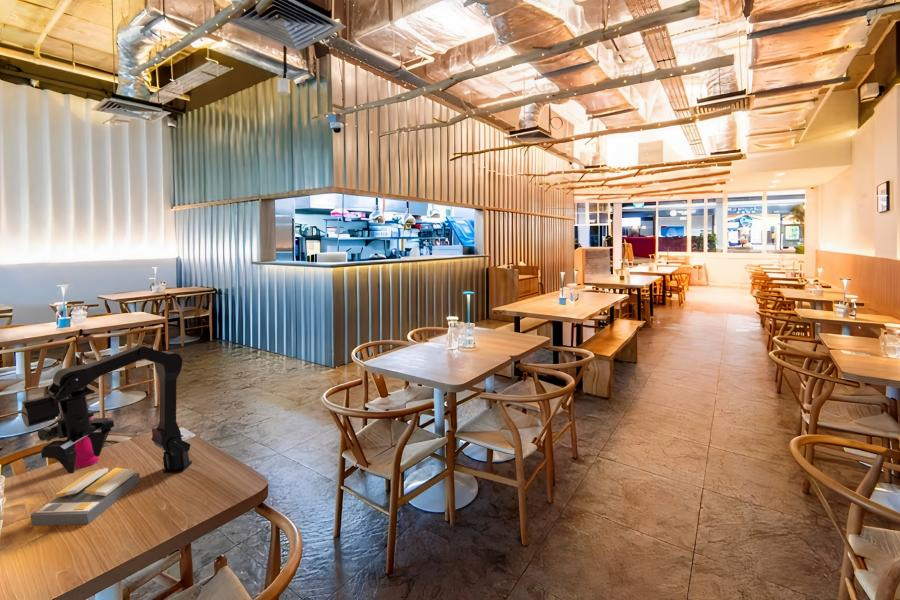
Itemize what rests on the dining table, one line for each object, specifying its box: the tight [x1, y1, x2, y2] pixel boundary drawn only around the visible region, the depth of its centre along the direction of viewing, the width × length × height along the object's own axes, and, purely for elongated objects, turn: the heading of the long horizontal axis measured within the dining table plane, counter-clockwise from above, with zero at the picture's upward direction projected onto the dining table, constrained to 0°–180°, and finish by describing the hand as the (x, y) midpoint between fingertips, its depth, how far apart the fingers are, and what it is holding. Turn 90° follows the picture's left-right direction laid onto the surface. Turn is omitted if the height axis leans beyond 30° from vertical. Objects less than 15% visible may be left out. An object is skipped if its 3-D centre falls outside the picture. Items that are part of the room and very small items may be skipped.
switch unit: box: [30, 472, 141, 527], centre depth 127 cm, size 15×20×4 cm
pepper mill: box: [74, 416, 100, 469], centre depth 149 cm, size 7×7×20 cm
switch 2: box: [84, 467, 136, 496], centre depth 130 cm, size 6×12×1 cm, turn 2°
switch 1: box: [55, 467, 110, 498], centre depth 130 cm, size 6×12×1 cm, turn 0°
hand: (84, 464), depth 125 cm, fingers open, 9 cm apart
